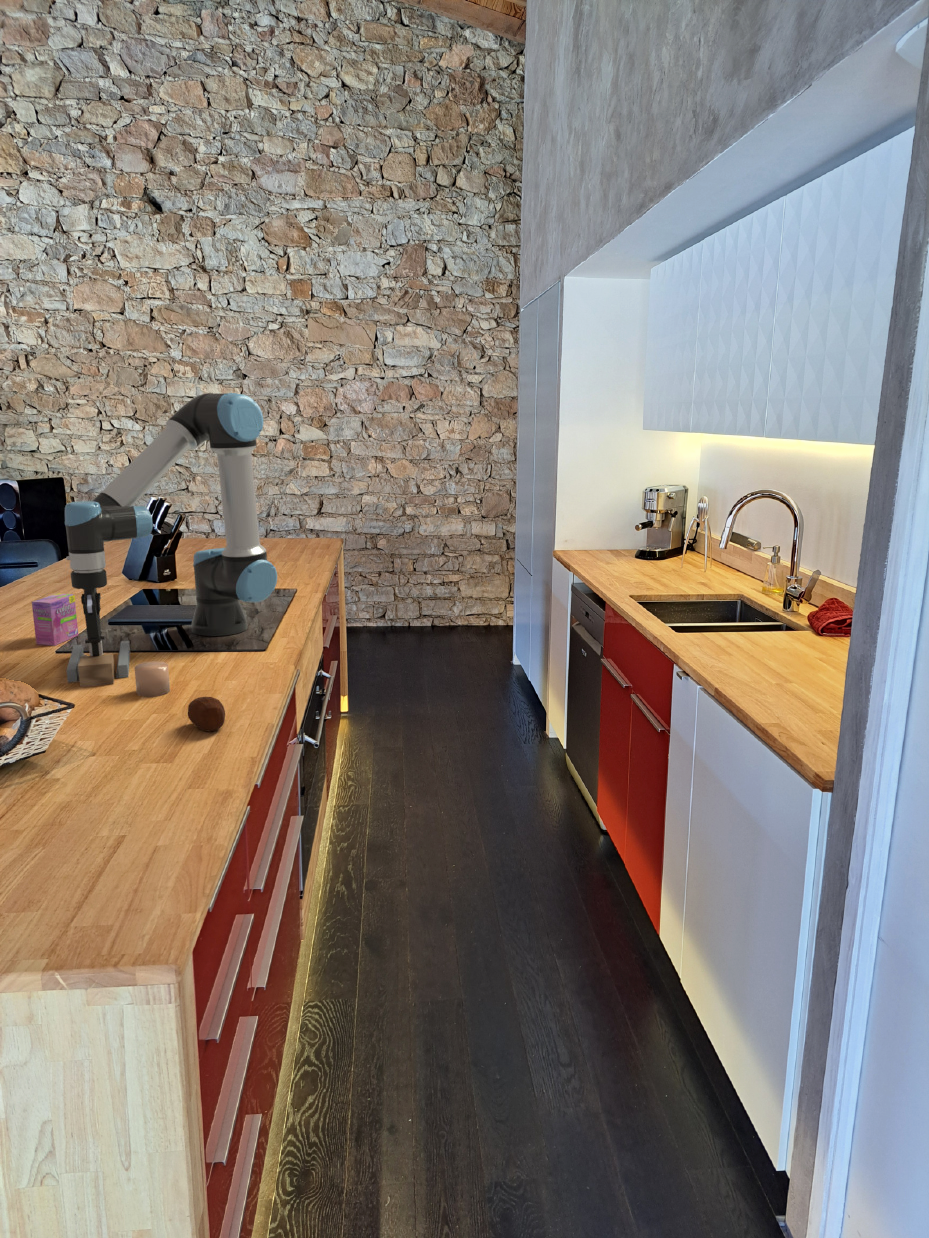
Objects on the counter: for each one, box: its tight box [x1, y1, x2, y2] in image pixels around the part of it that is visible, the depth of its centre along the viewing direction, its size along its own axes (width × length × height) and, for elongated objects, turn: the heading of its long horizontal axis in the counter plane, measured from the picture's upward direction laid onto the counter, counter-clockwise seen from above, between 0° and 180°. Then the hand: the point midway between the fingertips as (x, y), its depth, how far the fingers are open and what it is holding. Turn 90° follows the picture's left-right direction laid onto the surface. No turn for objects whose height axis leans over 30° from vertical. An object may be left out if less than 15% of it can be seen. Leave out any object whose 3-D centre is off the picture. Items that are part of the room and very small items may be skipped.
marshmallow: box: [134, 660, 171, 698], centre depth 193 cm, size 7×7×6 cm
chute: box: [66, 640, 131, 684], centre depth 211 cm, size 13×22×3 cm, turn 19°
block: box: [78, 653, 116, 688], centre depth 201 cm, size 7×8×5 cm
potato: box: [187, 696, 226, 732], centre depth 172 cm, size 7×9×6 cm
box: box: [31, 592, 79, 647], centre depth 233 cm, size 10×6×12 cm, turn 168°
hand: (97, 668), depth 205 cm, fingers closed
